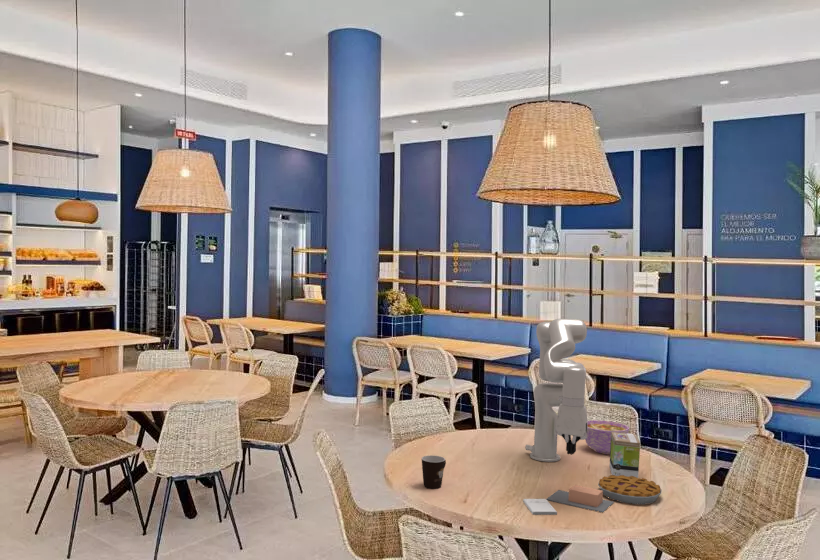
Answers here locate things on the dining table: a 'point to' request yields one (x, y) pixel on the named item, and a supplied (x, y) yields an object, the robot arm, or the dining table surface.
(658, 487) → the pie
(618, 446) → the tea box
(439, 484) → the coffee mug
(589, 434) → the bowl of food
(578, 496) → the block
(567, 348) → the robot arm
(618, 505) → the dining table surface
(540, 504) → the external hard drive
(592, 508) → the mat
